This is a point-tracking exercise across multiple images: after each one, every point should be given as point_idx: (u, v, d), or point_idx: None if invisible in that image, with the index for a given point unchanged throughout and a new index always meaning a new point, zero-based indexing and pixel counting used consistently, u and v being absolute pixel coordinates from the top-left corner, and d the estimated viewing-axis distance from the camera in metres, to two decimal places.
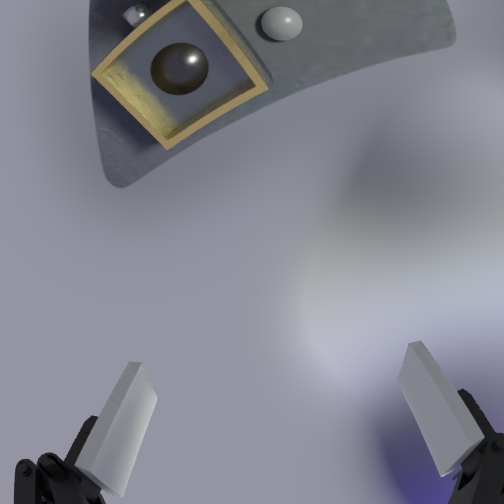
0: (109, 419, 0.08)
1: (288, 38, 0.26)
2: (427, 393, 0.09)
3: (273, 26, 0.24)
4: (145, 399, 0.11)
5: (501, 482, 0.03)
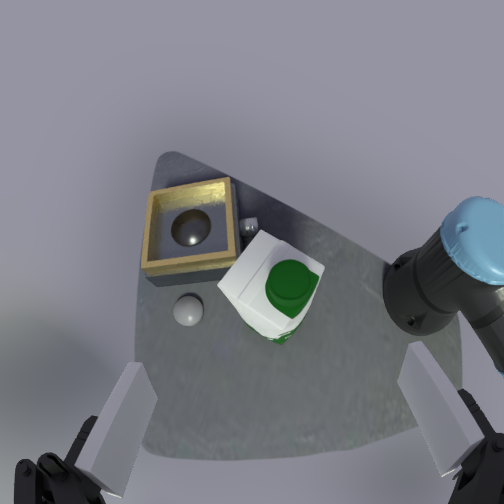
0: (109, 419, 0.08)
1: (174, 309, 0.44)
2: (427, 393, 0.09)
3: (188, 303, 0.44)
4: (145, 399, 0.11)
5: (501, 482, 0.03)
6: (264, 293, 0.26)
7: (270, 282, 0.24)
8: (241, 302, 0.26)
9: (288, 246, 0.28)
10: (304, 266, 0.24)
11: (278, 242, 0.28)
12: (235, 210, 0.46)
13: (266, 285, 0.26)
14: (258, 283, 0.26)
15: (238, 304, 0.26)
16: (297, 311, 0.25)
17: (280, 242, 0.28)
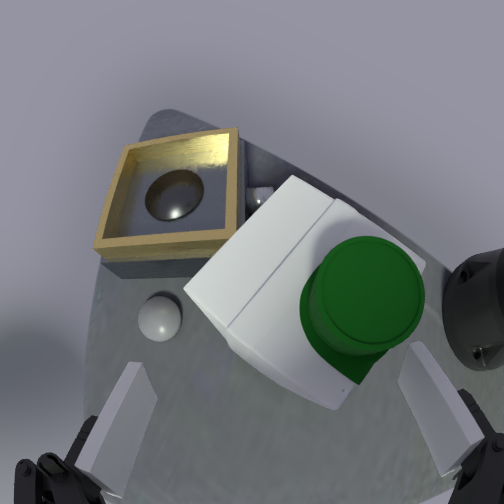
0: (109, 419, 0.08)
1: (140, 314, 0.28)
2: (427, 393, 0.09)
3: (160, 308, 0.28)
4: (145, 399, 0.11)
5: (501, 482, 0.03)
6: (296, 318, 0.10)
7: (322, 294, 0.08)
8: (238, 339, 0.10)
9: (353, 212, 0.12)
10: (405, 256, 0.08)
11: (330, 202, 0.12)
12: (242, 173, 0.30)
13: (303, 299, 0.10)
14: (284, 292, 0.10)
15: (230, 339, 0.10)
16: (371, 365, 0.09)
17: (335, 202, 0.12)
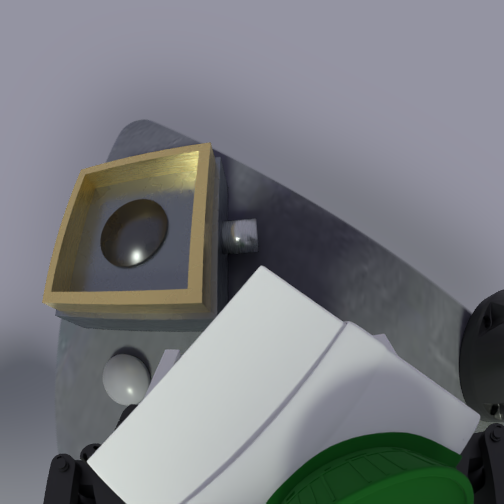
0: None
1: (104, 373, 0.21)
2: None
3: (125, 368, 0.22)
4: None
5: None
6: None
7: None
8: None
9: (378, 353, 0.05)
10: (461, 483, 0.02)
11: (336, 332, 0.06)
12: (216, 204, 0.24)
13: None
14: None
15: None
16: None
17: (345, 334, 0.06)
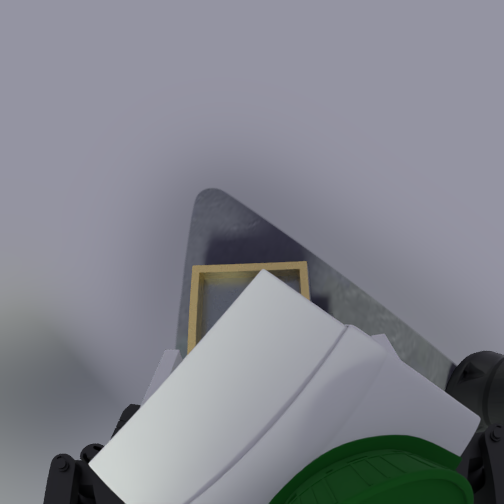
0: None
1: None
2: None
3: None
4: None
5: None
6: None
7: None
8: None
9: (379, 356, 0.05)
10: (461, 485, 0.02)
11: (337, 335, 0.06)
12: None
13: None
14: None
15: None
16: None
17: (347, 337, 0.06)
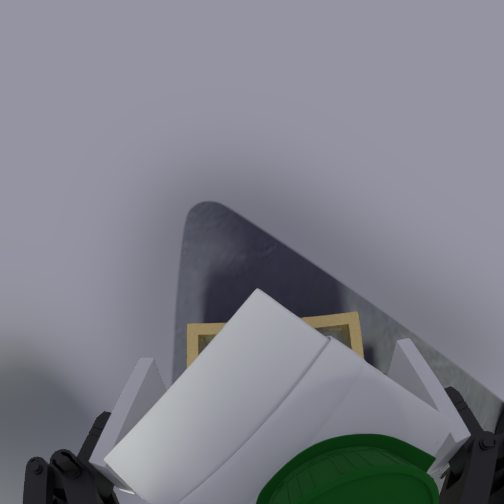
0: (123, 414, 0.08)
1: None
2: (414, 390, 0.09)
3: None
4: (157, 394, 0.12)
5: (490, 480, 0.03)
6: None
7: None
8: None
9: (357, 366, 0.06)
10: (426, 481, 0.03)
11: (321, 347, 0.07)
12: None
13: (260, 503, 0.05)
14: (233, 494, 0.05)
15: None
16: None
17: (329, 349, 0.07)
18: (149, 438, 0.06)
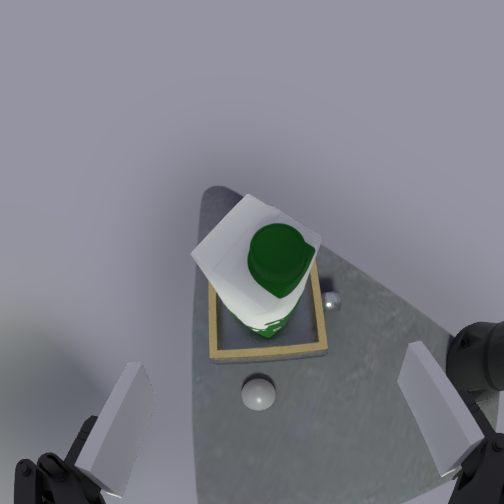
0: (109, 419, 0.08)
1: (242, 393, 0.36)
2: (427, 393, 0.09)
3: (259, 387, 0.37)
4: (145, 399, 0.11)
5: (501, 482, 0.03)
6: (245, 265, 0.21)
7: (253, 249, 0.19)
8: (217, 275, 0.21)
9: (279, 212, 0.23)
10: (296, 232, 0.20)
11: (267, 207, 0.23)
12: None
13: (249, 256, 0.21)
14: (240, 253, 0.21)
15: (214, 278, 0.21)
16: (286, 289, 0.20)
17: (269, 207, 0.23)
18: (211, 239, 0.22)
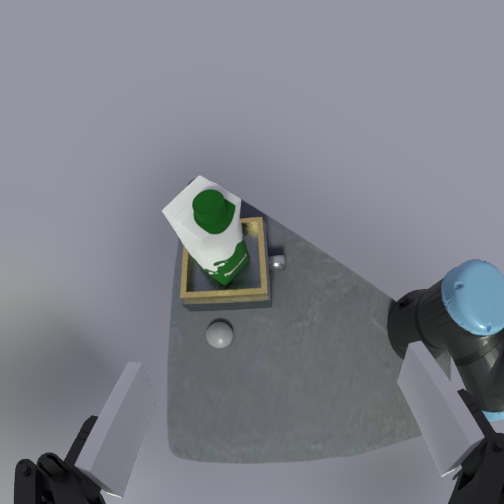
0: (109, 419, 0.08)
1: (207, 333, 0.49)
2: (427, 393, 0.09)
3: (220, 328, 0.50)
4: (145, 399, 0.11)
5: (501, 482, 0.03)
6: (192, 215, 0.34)
7: (194, 203, 0.32)
8: (175, 221, 0.34)
9: (216, 185, 0.36)
10: (220, 193, 0.33)
11: (210, 183, 0.36)
12: (266, 248, 0.52)
13: None
14: (190, 208, 0.34)
15: (174, 224, 0.34)
16: (214, 228, 0.33)
17: (211, 182, 0.36)
18: (174, 202, 0.35)
